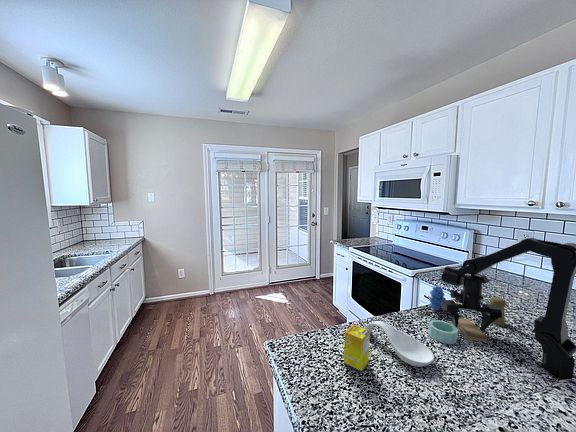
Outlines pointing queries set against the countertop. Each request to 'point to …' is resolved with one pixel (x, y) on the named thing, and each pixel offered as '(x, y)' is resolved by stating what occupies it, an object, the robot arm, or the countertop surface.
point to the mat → (463, 335)
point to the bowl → (443, 331)
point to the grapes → (436, 298)
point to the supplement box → (356, 348)
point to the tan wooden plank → (471, 330)
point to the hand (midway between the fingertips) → (468, 329)
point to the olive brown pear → (500, 304)
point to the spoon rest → (405, 345)
